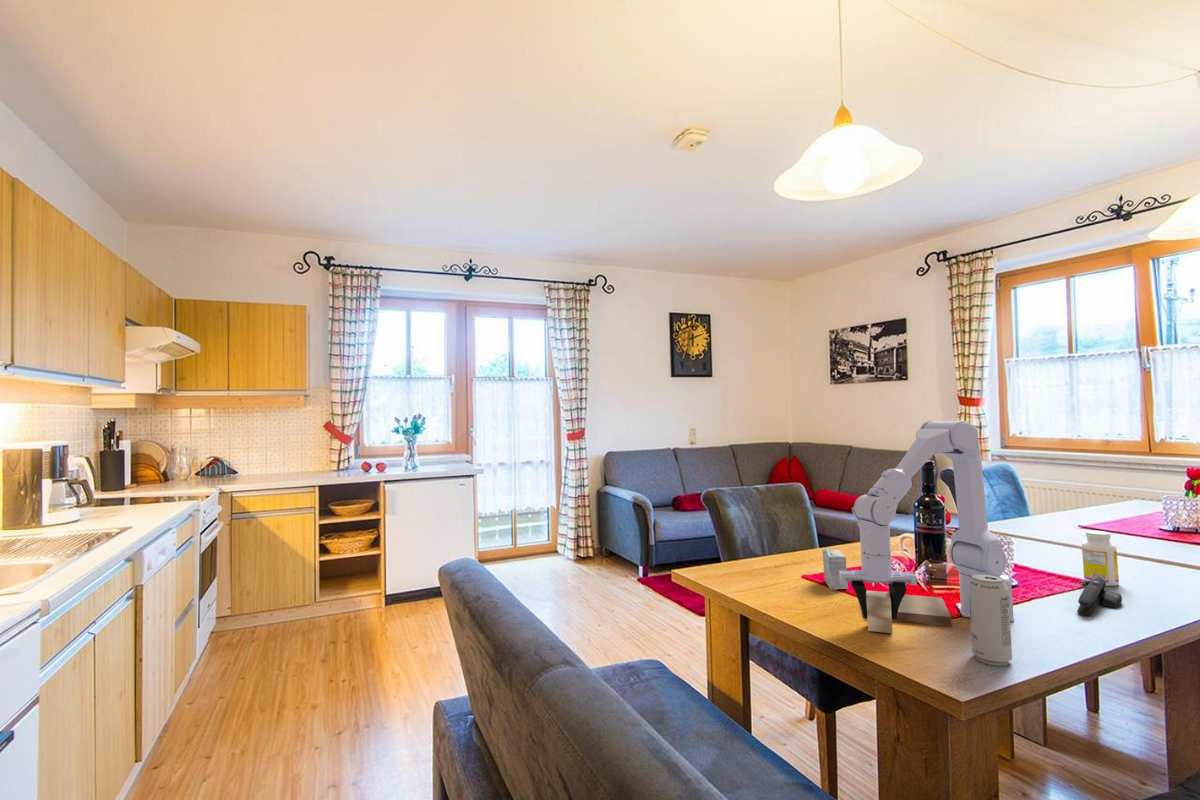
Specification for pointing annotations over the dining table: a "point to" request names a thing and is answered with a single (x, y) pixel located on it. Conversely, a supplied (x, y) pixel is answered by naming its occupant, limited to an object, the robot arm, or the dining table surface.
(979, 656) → the energy drink can
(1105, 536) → the supplement bottle
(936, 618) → the taupe rectangular slab
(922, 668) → the dining table surface
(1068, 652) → the dining table surface
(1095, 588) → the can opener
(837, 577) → the medicine box
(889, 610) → the maple block
